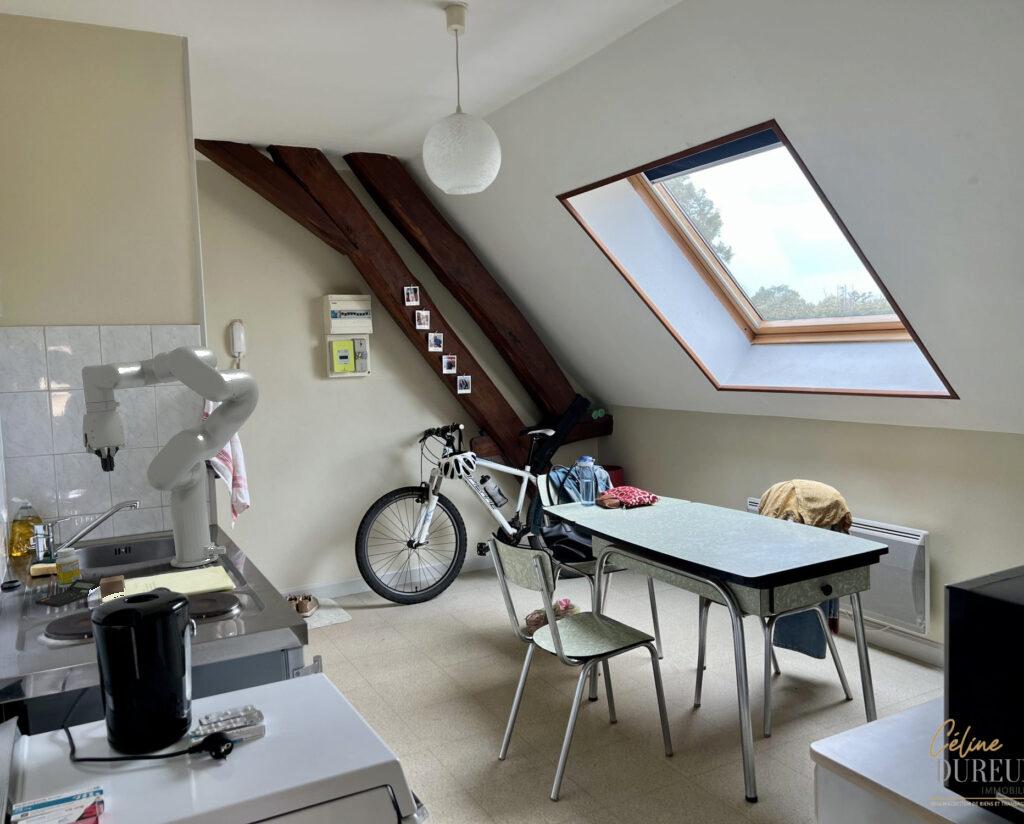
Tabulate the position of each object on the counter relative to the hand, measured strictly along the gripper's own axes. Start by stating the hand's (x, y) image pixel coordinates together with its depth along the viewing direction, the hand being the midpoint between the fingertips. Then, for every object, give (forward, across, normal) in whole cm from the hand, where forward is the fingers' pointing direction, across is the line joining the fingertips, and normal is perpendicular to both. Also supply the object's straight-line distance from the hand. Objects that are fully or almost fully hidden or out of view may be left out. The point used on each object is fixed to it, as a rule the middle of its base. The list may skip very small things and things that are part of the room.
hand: (108, 471), depth 229 cm
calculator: (+28, +23, +22) cm, 42 cm away
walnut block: (+27, +18, +35) cm, 48 cm away
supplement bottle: (+27, +18, +10) cm, 34 cm away
